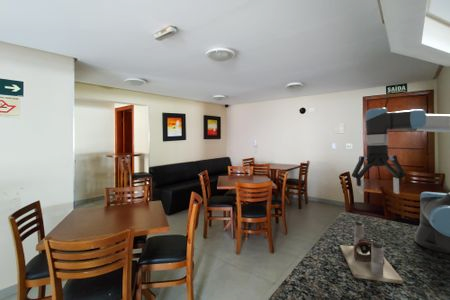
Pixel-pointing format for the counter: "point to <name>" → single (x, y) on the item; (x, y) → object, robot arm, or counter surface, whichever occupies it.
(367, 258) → the pottery mug
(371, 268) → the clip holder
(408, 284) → the counter surface
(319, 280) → the counter surface
